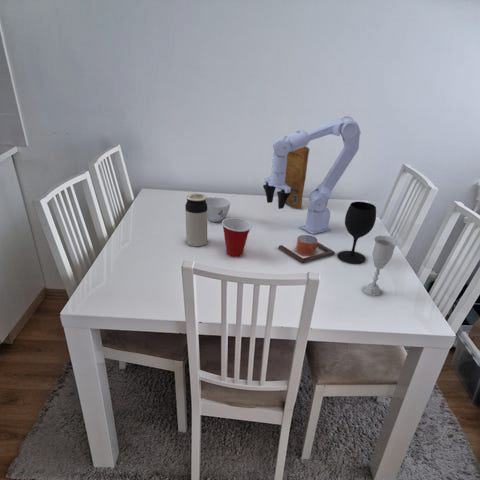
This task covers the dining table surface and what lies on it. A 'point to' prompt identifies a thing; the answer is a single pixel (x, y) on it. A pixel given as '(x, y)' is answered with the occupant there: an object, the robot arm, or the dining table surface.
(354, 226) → the wine glass
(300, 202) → the pancake mix bag
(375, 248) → the chalice
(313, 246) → the tin can
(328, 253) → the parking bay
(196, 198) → the travel mug
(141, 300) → the dining table surface
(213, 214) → the teacup
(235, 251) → the plastic cup
